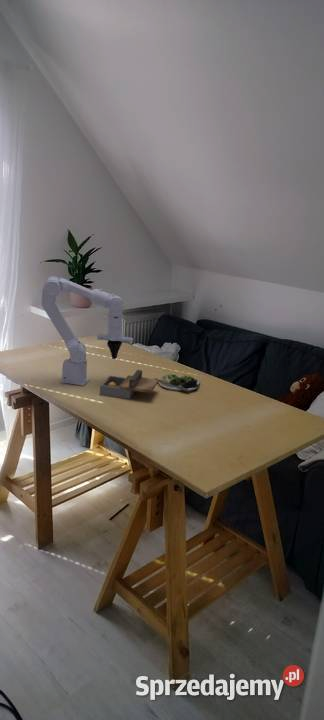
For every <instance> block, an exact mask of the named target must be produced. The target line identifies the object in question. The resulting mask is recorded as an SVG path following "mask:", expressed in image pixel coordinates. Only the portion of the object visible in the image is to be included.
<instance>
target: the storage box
mask: <svg viewBox="0 0 324 720" xmlns="http://www.w3.org/2000/svg"><path fill="white" fill-rule="evenodd" d="M125 378H126V377H121V376H115V375H108V377H107V378H106V379H105V380H104V381H103V382H102V383H101V384H100V385H99V395H100V396H107V397H112V398H120V399H125V400H131V398H132V396H133V395H134V394H135V392H136V391H134V390H127V389H121V388H119V386H120V384H121V383H122V382H123V381H124V380H125ZM110 382H114V383H115V384H116V387H111V386H108V384H109V383H110Z"/></svg>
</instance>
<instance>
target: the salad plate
mask: <svg viewBox="0 0 324 720" xmlns="http://www.w3.org/2000/svg"><path fill="white" fill-rule="evenodd" d="M153 379H157V380H158V383H157V384H159V385H160V387H162V388H163V389H166V390H168V391H169V390H170V391H176V392H181V393H194V392H196V391H197V390H198V389H199V387H200V384H201V381H200V379H199V378H197V377H194V376H191V375H186V374H185V375H179V374H165V375H163V376H162V377H161V378H160V379H159V378H153Z"/></svg>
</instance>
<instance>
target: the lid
mask: <svg viewBox="0 0 324 720" xmlns="http://www.w3.org/2000/svg"><path fill="white" fill-rule="evenodd" d="M124 378H125V380H124V381H123V382H122V383H121V384H120V386H119V388H121V389H127V390H134V391H135V392H140V393H141V392H142V393H148V394H152V393H153V391H154V390H155V388H156V386H157V385H158V384H159V383H158V380H157V379H158V378H157V379H154V378H150V377H143V370H141V369H137V370H136V371H135V373H134V374H133V375H126V377H124Z"/></svg>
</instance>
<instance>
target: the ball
mask: <svg viewBox="0 0 324 720" xmlns="http://www.w3.org/2000/svg"><path fill="white" fill-rule="evenodd" d="M108 386H111V387H116V384H115V383H114V382H110V383H109V384H108Z"/></svg>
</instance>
